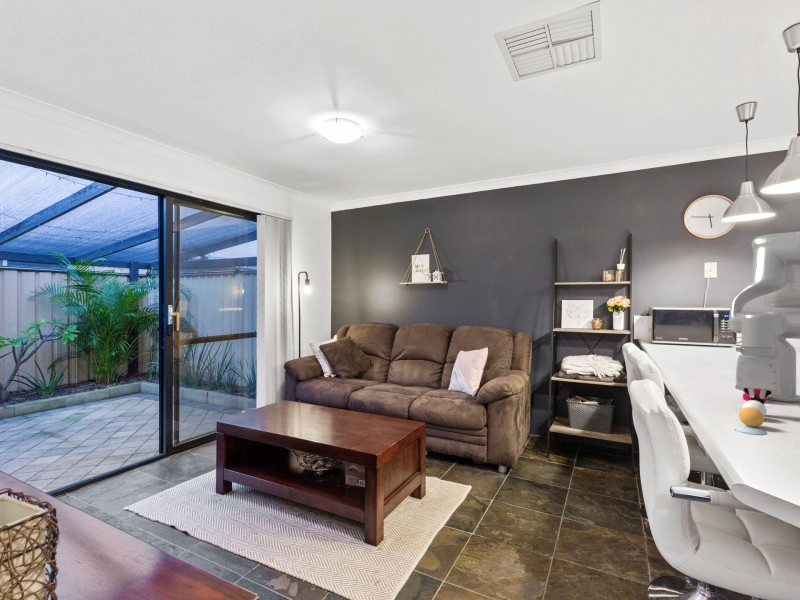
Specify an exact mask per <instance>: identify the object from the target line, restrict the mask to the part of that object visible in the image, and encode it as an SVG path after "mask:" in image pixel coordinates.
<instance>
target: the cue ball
mask: <svg viewBox="0 0 800 600" xmlns="http://www.w3.org/2000/svg"><path fill="white" fill-rule="evenodd" d="M747 407H752V408H756V409H758V410H759V411H760V412H761V413H762V414H763V416H764V417H765V416H766V414H767V408H766V406H765V404H764V405H763V404H762V403H761V402H759V401H755V400H750V401H747V400H746V402H744V403H743V404H742V409H744V408H747Z"/></svg>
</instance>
